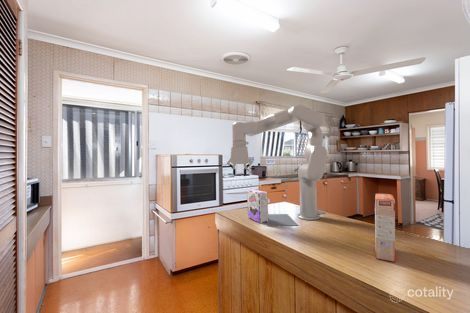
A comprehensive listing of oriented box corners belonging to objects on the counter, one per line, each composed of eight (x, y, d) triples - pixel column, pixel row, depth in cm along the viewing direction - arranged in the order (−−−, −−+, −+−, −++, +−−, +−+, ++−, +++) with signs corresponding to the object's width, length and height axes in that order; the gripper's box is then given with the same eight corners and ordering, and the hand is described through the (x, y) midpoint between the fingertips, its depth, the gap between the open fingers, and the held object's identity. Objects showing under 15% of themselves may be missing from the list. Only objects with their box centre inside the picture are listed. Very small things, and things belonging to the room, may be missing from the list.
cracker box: (396, 263, 76) (395, 199, 76) (375, 259, 79) (374, 198, 79) (394, 248, 88) (393, 193, 88) (375, 245, 91) (374, 192, 91)
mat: (287, 214, 144) (287, 214, 144) (298, 225, 120) (298, 225, 120) (261, 214, 143) (261, 214, 143) (267, 226, 119) (267, 225, 119)
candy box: (247, 218, 136) (246, 190, 137) (256, 216, 139) (255, 189, 139) (259, 223, 124) (258, 192, 124) (269, 221, 126) (267, 191, 126)
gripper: (253, 144, 135) (254, 175, 135) (224, 144, 135) (225, 175, 135) (254, 143, 128) (255, 176, 128) (224, 144, 128) (224, 177, 128)
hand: (239, 175), depth 132 cm, fingers open, 4 cm apart
